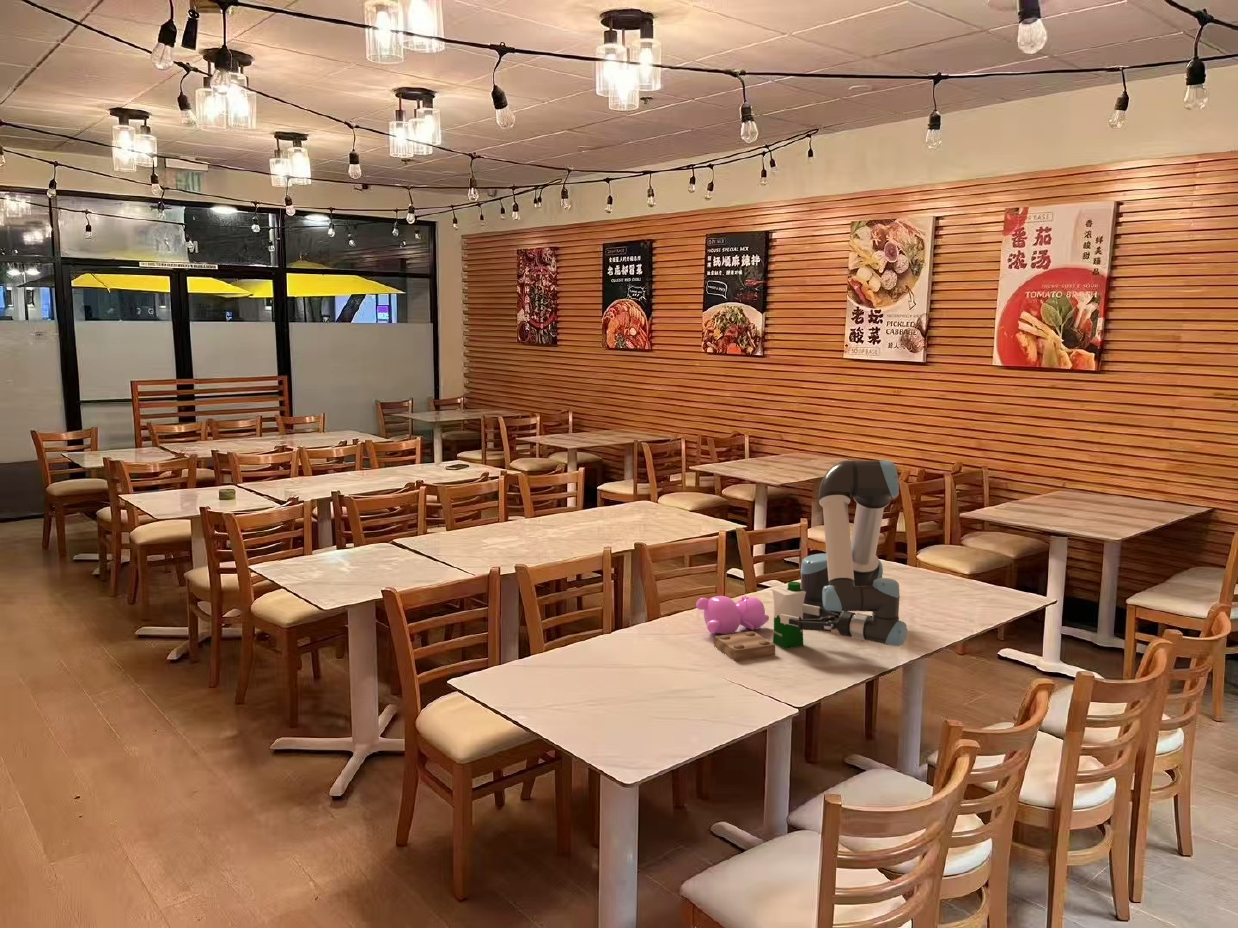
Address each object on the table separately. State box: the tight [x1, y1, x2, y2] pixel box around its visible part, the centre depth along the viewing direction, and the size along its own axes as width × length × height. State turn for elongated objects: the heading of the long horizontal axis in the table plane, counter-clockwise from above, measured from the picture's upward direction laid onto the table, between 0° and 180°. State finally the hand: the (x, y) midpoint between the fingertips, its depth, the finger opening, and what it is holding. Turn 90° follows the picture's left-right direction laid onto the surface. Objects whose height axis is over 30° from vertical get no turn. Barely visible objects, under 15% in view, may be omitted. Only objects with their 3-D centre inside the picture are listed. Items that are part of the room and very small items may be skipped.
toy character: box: [695, 595, 770, 635], centre depth 304 cm, size 16×13×25 cm
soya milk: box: [772, 581, 806, 650], centre depth 289 cm, size 9×9×20 cm
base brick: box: [713, 630, 776, 662], centre depth 285 cm, size 14×14×4 cm
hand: (790, 612), depth 288 cm, fingers open, 13 cm apart
